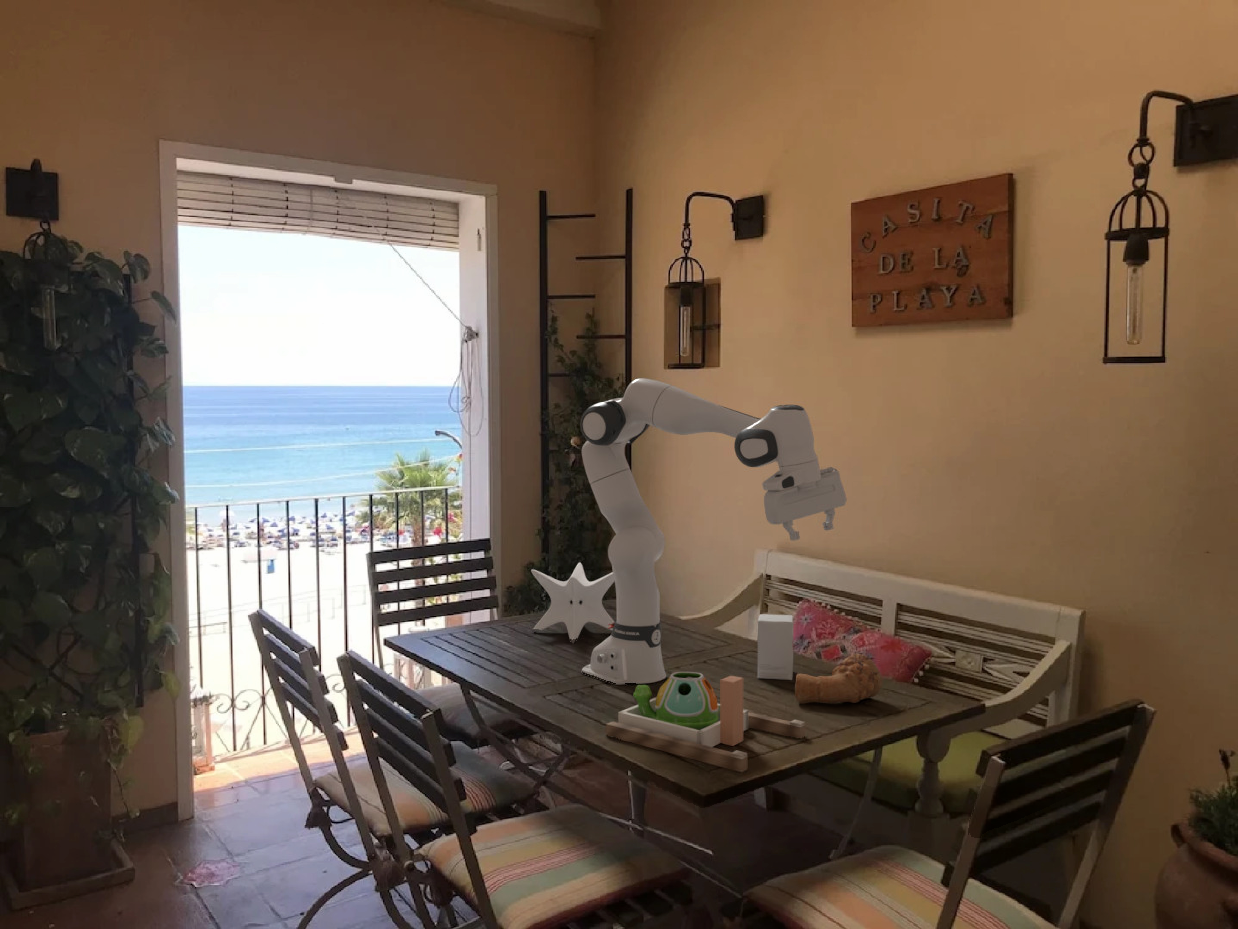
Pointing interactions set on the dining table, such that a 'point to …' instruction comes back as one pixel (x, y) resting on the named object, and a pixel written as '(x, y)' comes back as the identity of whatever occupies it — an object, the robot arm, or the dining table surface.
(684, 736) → the sled
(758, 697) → the dining table surface
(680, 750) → the bay rails
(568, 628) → the starfish
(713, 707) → the turtle holder
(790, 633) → the supplement box
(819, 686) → the clay pipe
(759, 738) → the dining table surface
